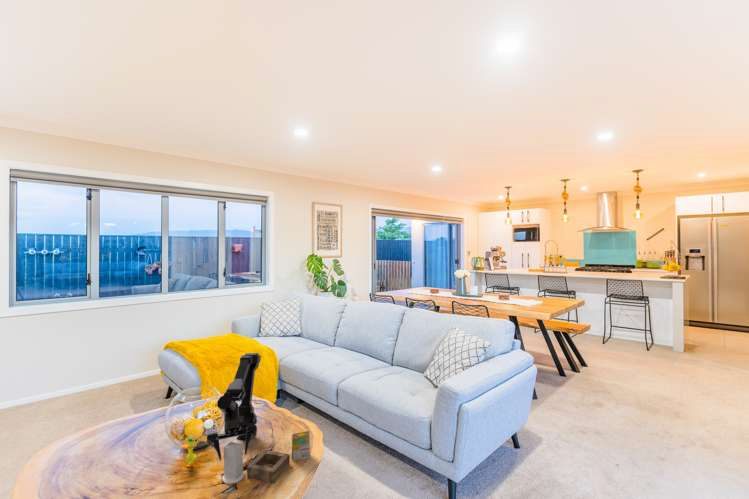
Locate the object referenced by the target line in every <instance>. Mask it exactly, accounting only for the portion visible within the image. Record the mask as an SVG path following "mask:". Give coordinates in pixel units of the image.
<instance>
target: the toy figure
mask: <svg viewBox="0 0 749 499" xmlns="http://www.w3.org/2000/svg"><path fill="white" fill-rule="evenodd" d="M179 448H180V449H181V450H187V452H188V454H187V456H186V462H187V464H186V466H185V468H187V467H189V468H192V467H193V465H194V464H193V463H194V461H195V460H196V458H197V455H195V453H193V450H194V449H195V445H194V439H193V436H189V437H188V439H187V443H186V444H182V445H180V446H179Z"/></svg>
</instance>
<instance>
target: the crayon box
mask: <svg viewBox="0 0 749 499" xmlns="http://www.w3.org/2000/svg"><path fill="white" fill-rule="evenodd" d="M310 442H311V441H310V430H307V431H301V432H296V433H292V435H291V460H292V462H295V461H299V460H304V459H309V458H310V457H311V447H310V446H311V443H310Z"/></svg>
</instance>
